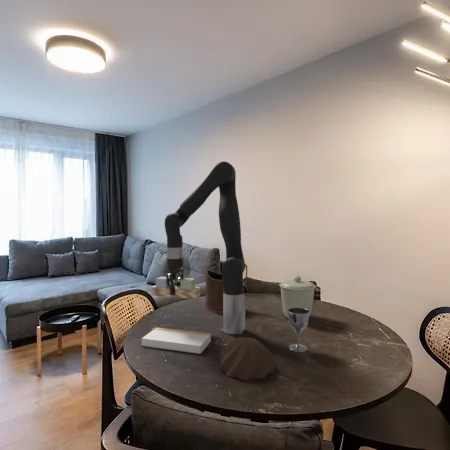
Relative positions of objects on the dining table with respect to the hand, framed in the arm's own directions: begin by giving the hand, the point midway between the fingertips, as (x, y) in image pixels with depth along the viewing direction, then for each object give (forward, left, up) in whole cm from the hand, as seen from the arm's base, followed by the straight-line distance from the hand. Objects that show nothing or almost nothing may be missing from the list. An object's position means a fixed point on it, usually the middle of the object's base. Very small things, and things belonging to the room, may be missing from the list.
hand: (175, 293), depth 151 cm
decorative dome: (-39, +27, -16) cm, 50 cm away
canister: (-53, -30, -16) cm, 63 cm away
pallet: (0, 0, -1) cm, 1 cm away
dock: (-8, +17, -16) cm, 25 cm away
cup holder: (-14, -34, -16) cm, 40 cm away
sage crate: (-6, 0, +3) cm, 7 cm away
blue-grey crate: (+6, 0, +3) cm, 7 cm away
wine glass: (-56, +7, -16) cm, 58 cm away
